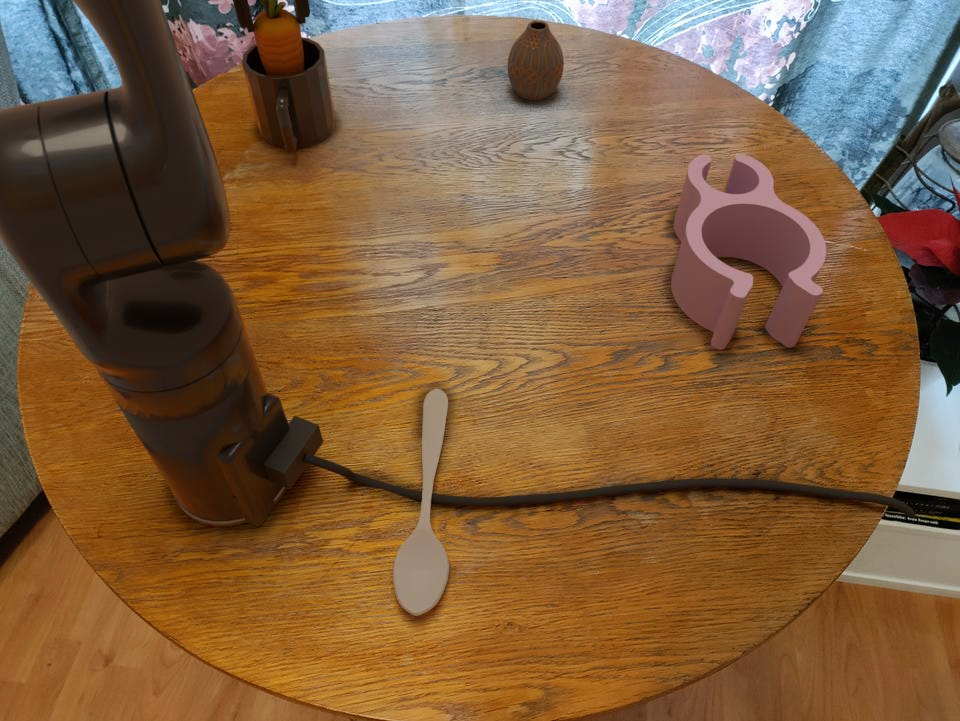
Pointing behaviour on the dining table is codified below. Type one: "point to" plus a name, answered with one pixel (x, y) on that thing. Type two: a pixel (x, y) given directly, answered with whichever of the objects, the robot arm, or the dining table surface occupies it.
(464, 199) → the dining table surface
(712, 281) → the clip
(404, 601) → the spoon
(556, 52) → the vase
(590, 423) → the dining table surface
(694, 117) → the dining table surface
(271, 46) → the carrot
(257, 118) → the mug
